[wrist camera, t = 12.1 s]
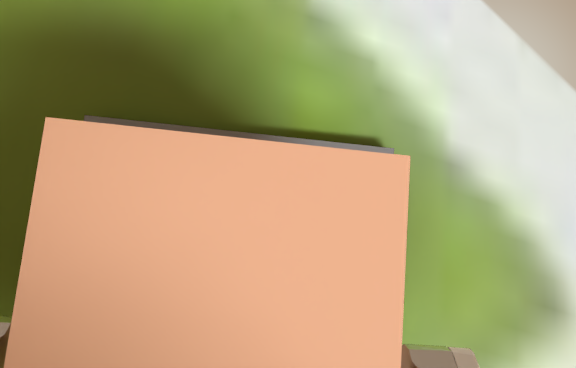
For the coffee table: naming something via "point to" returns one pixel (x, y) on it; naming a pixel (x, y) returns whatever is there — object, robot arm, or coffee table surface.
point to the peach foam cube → (209, 253)
